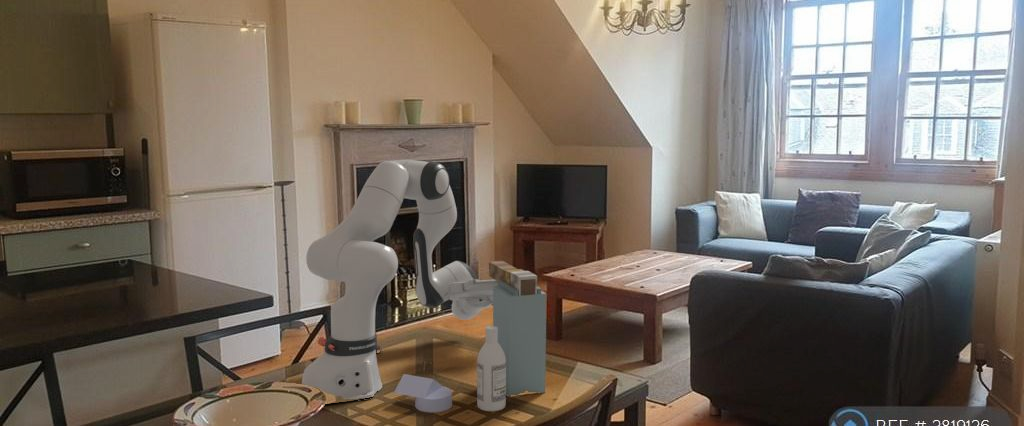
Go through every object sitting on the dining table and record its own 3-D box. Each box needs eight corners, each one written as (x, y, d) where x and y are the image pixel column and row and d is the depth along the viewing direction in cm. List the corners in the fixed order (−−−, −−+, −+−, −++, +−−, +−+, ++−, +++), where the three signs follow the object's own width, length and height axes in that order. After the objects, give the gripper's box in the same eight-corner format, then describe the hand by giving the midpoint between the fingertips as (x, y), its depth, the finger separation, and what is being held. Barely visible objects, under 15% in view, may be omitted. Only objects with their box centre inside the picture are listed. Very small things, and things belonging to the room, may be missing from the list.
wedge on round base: (394, 406, 192) (440, 415, 186) (393, 379, 191) (440, 387, 186) (413, 393, 200) (458, 402, 195) (413, 368, 199) (458, 376, 194)
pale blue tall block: (492, 381, 209) (493, 280, 205) (527, 377, 212) (528, 278, 208) (508, 397, 198) (509, 291, 194) (545, 392, 201) (546, 288, 197)
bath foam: (509, 403, 194) (509, 324, 191) (500, 413, 187) (501, 332, 184) (482, 400, 196) (482, 322, 193) (473, 410, 189) (473, 330, 186)
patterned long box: (487, 275, 217) (487, 258, 216) (503, 274, 219) (504, 257, 218) (519, 295, 195) (519, 277, 194) (536, 294, 197) (537, 275, 196)
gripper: (441, 287, 232) (452, 272, 220) (505, 282, 240) (520, 267, 228) (444, 307, 230) (455, 294, 218) (509, 302, 237) (524, 288, 225)
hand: (489, 280), depth 223 cm, fingers open, 8 cm apart
